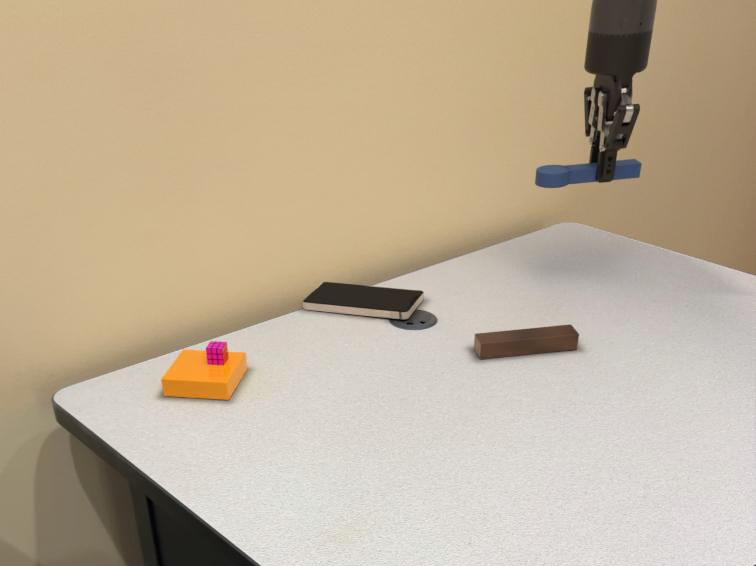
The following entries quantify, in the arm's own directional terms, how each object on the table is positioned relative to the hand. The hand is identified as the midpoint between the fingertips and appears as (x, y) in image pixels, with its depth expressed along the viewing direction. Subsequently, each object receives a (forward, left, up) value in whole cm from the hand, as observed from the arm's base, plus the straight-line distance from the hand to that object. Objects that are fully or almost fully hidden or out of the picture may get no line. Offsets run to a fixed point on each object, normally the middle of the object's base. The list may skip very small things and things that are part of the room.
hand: (600, 177), depth 119 cm
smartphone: (+33, +4, -13) cm, 35 cm away
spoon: (+2, 0, 0) cm, 2 cm away
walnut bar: (+16, +23, -12) cm, 30 cm away
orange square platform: (+55, +23, -13) cm, 61 cm away
